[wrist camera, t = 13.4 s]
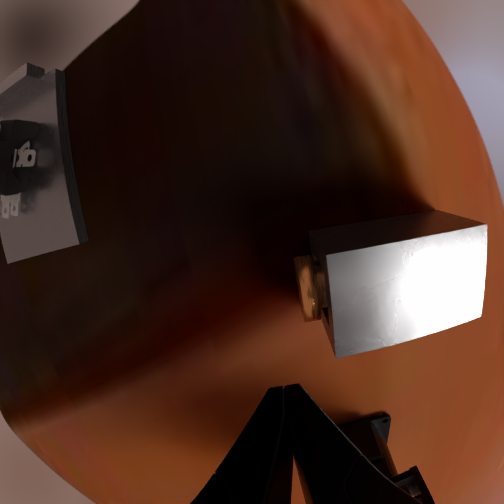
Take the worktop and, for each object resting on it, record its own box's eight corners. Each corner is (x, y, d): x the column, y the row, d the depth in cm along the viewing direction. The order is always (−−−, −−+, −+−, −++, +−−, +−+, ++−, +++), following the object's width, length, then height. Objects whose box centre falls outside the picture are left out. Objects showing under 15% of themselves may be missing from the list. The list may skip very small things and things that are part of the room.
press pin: (431, 277, 17) (459, 297, 13) (300, 305, 17) (307, 334, 14) (430, 225, 16) (461, 237, 13) (291, 250, 17) (298, 268, 13)
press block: (437, 284, 17) (480, 316, 12) (318, 310, 18) (335, 358, 13) (436, 209, 16) (487, 224, 11) (307, 231, 17) (326, 255, 12)
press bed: (89, 239, 17) (61, 252, 14) (17, 259, 18) (-10, 271, 15) (64, 66, 14) (37, 55, 11) (-4, 111, 15) (-31, 109, 12)
